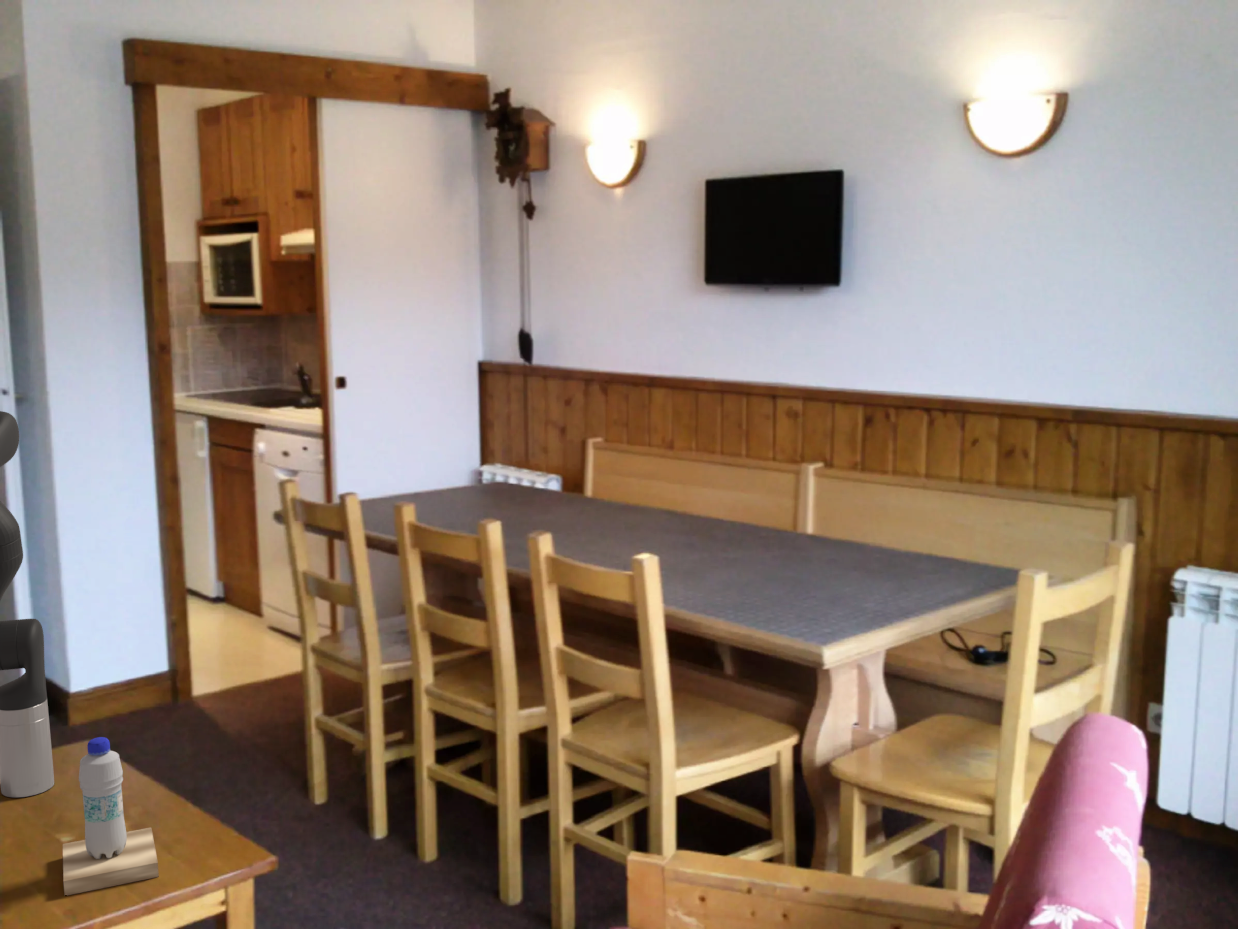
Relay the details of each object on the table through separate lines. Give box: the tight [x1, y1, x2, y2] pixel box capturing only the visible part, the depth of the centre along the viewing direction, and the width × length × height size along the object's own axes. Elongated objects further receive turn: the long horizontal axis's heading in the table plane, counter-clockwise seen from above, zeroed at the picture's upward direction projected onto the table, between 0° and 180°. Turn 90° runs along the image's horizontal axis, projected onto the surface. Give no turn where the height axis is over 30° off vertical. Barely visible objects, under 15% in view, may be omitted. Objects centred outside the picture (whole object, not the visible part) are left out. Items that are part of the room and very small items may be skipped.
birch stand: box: [62, 827, 160, 896], centre depth 200 cm, size 14×14×2 cm
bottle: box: [78, 736, 127, 859], centre depth 198 cm, size 7×7×20 cm
